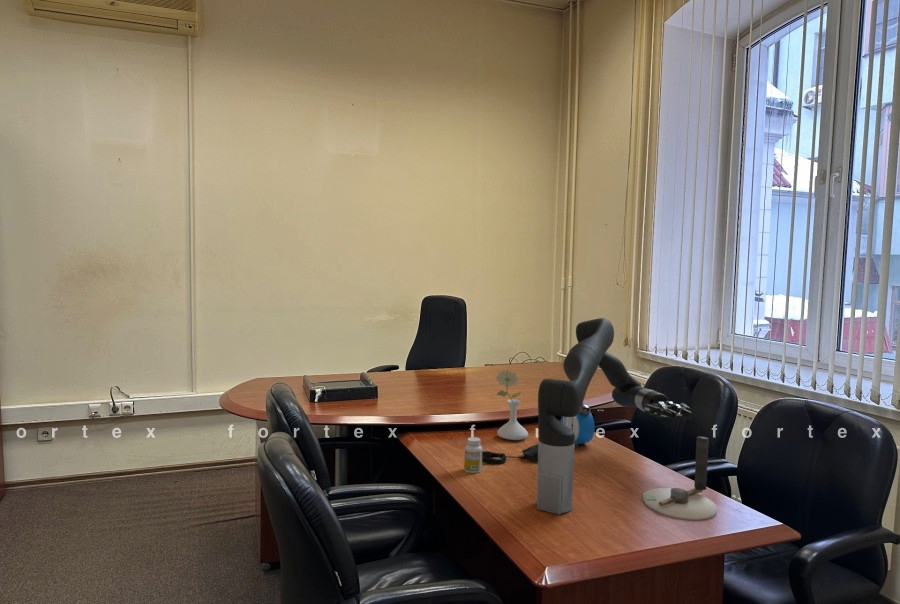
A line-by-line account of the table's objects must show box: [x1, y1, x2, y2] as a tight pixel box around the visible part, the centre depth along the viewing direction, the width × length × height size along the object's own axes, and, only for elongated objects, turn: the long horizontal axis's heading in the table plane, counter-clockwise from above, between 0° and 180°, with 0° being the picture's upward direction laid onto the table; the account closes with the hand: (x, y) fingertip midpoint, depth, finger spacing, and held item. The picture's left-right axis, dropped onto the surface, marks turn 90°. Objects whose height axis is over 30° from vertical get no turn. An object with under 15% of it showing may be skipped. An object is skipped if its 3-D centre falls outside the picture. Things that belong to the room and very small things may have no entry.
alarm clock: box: [560, 403, 595, 447], centre depth 201 cm, size 13×6×15 cm, turn 20°
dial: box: [659, 436, 710, 506], centre depth 149 cm, size 20×4×15 cm, turn 125°
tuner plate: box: [642, 487, 718, 521], centre depth 148 cm, size 18×18×1 cm
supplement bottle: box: [463, 436, 483, 474], centre depth 171 cm, size 5×5×10 cm
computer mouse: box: [482, 443, 539, 465], centre depth 183 cm, size 10×32×6 cm, turn 104°
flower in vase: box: [496, 369, 529, 441], centre depth 205 cm, size 13×11×25 cm
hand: (682, 415), depth 163 cm, fingers open, 4 cm apart
